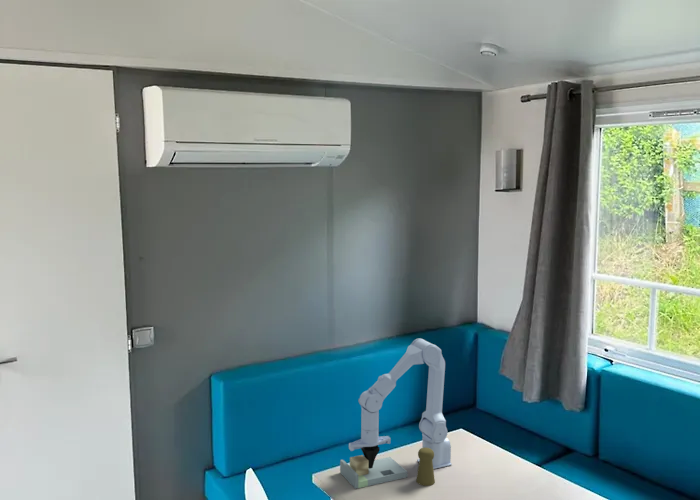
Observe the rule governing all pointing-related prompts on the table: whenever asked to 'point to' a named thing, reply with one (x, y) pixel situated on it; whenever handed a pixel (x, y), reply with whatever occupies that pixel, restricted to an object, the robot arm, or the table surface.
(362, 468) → the beech block
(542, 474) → the table surface
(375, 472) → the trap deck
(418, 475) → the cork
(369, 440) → the robot arm
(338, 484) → the table surface
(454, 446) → the table surface
